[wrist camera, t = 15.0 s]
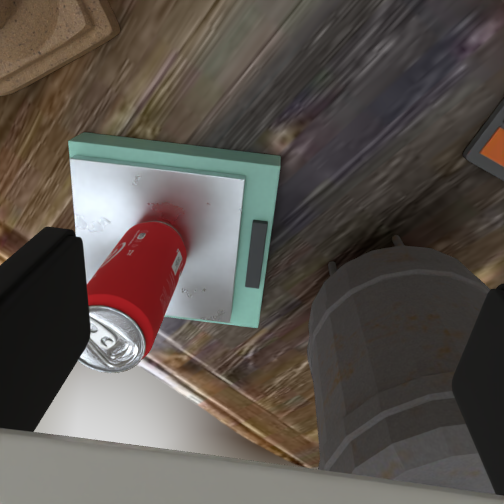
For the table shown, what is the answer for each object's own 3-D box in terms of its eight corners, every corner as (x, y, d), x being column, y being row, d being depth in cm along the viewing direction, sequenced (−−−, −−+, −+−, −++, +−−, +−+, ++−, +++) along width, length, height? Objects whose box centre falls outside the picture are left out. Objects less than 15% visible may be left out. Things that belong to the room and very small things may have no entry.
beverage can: (156, 285, 38) (107, 389, 27) (111, 241, 36) (39, 333, 25) (202, 251, 36) (168, 349, 25) (157, 203, 34) (100, 285, 24)
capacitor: (359, 356, 45) (473, 848, 18) (270, 264, 41) (250, 725, 14) (484, 281, 40) (887, 794, 13) (399, 169, 36) (735, 587, 9)
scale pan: (245, 175, 34) (244, 179, 33) (231, 316, 40) (230, 323, 39) (74, 154, 34) (69, 158, 33) (85, 298, 40) (81, 304, 39)
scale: (280, 155, 36) (280, 168, 33) (259, 309, 43) (257, 332, 40) (83, 131, 36) (64, 142, 33) (93, 289, 43) (78, 310, 40)
